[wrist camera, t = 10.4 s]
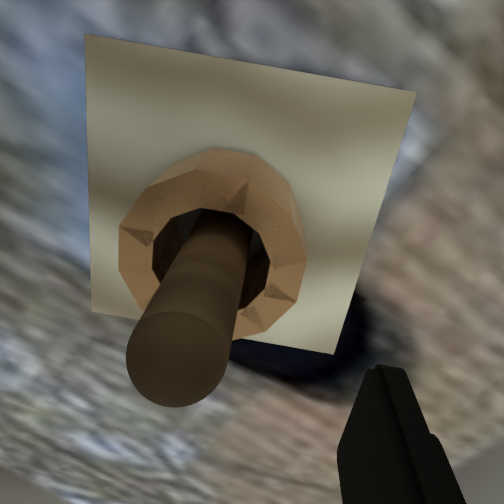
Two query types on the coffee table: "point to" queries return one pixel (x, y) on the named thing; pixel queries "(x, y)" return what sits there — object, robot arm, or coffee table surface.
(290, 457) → the coffee table surface
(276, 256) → the beige thick ring
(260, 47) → the coffee table surface
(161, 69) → the post board
